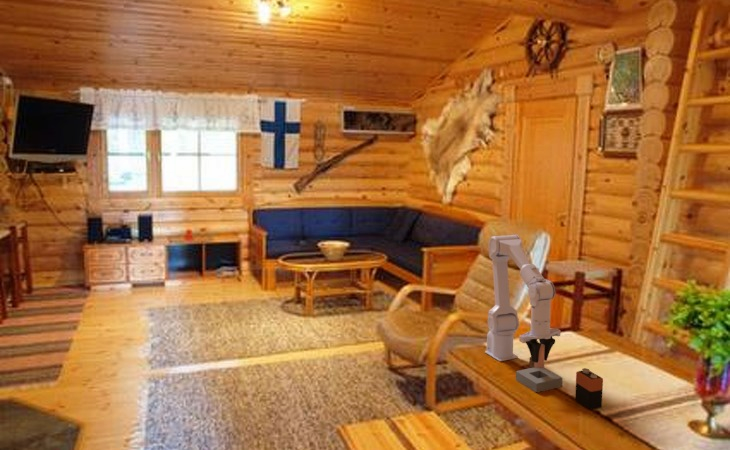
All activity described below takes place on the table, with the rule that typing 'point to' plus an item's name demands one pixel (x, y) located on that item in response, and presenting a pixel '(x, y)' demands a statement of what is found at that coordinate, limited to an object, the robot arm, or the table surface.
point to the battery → (589, 389)
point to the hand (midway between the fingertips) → (539, 360)
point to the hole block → (538, 379)
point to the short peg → (531, 363)
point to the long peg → (540, 357)
